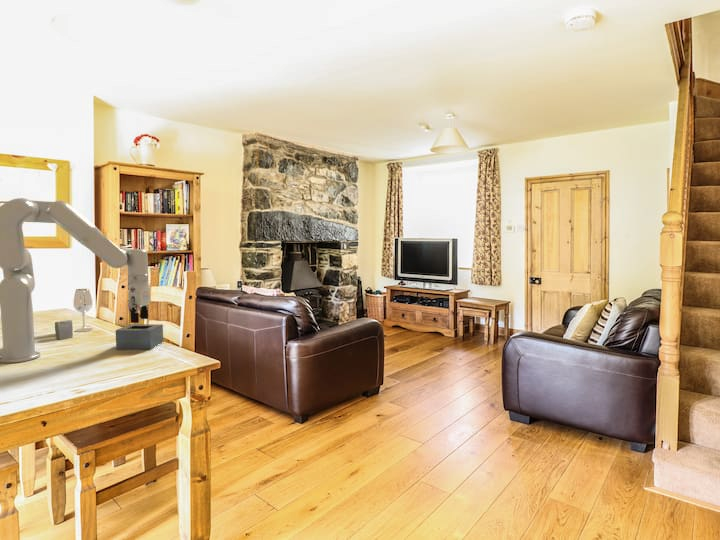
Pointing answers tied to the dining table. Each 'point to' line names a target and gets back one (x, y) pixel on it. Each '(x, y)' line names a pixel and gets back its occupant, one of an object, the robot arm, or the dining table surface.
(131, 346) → the box
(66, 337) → the grey block
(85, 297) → the wineglass
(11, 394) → the dining table surface
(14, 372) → the dining table surface
